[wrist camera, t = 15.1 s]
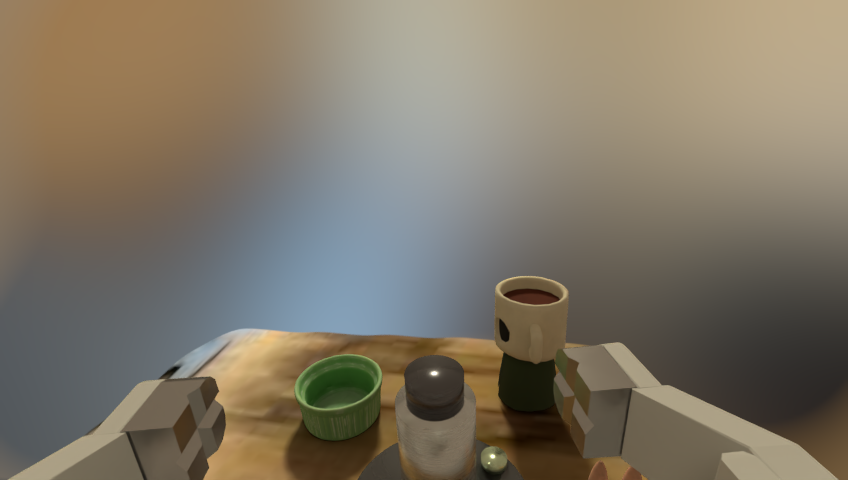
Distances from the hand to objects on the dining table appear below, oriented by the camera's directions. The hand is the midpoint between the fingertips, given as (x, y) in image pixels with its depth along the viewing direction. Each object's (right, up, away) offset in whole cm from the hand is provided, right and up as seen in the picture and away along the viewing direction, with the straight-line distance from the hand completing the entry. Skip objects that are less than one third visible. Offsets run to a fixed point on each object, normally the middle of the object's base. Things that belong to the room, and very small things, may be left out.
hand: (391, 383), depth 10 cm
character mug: (+12, -14, +34) cm, 39 cm away
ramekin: (-8, -15, +34) cm, 38 cm away
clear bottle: (+2, -15, +18) cm, 24 cm away
